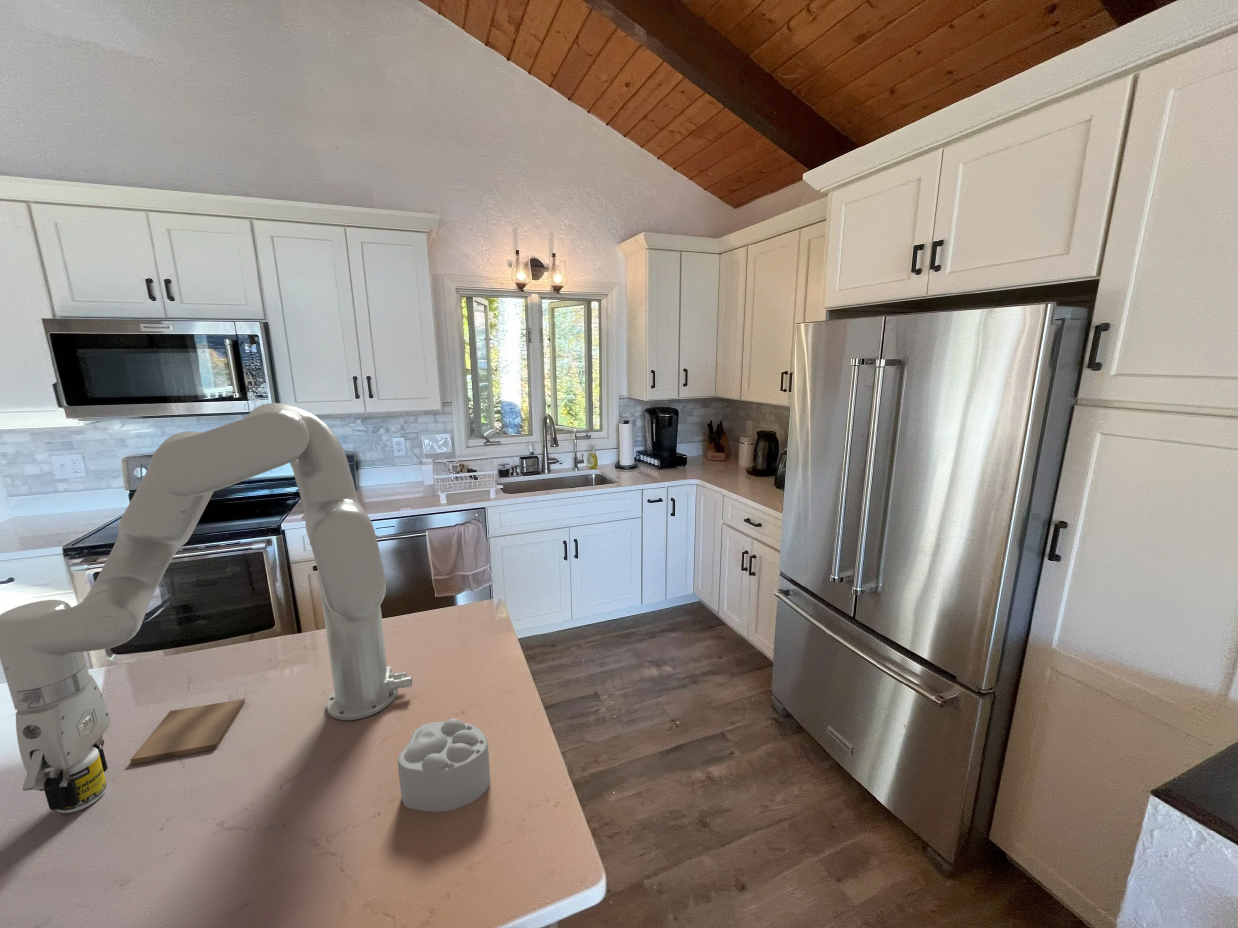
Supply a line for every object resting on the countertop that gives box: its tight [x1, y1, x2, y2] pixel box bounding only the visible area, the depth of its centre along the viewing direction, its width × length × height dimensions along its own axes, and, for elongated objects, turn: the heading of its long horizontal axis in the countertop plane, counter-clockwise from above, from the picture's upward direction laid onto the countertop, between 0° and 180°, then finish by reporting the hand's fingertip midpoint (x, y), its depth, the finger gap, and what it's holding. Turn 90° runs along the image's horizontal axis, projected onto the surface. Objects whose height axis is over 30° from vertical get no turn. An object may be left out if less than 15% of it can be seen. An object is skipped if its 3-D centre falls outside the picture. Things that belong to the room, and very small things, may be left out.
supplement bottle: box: [50, 747, 108, 814], centre depth 76 cm, size 5×5×10 cm
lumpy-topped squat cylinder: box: [397, 717, 491, 813], centre depth 80 cm, size 10×13×9 cm
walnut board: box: [129, 698, 246, 765], centre depth 91 cm, size 12×12×1 cm
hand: (80, 787), depth 77 cm, fingers closed on supplement bottle, 5 cm apart
